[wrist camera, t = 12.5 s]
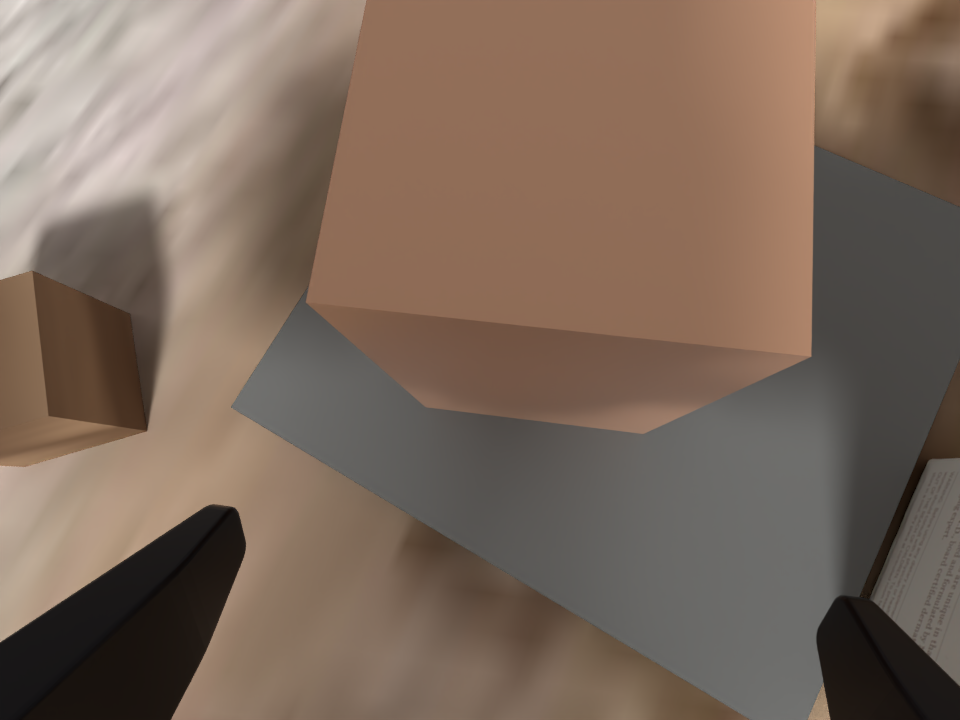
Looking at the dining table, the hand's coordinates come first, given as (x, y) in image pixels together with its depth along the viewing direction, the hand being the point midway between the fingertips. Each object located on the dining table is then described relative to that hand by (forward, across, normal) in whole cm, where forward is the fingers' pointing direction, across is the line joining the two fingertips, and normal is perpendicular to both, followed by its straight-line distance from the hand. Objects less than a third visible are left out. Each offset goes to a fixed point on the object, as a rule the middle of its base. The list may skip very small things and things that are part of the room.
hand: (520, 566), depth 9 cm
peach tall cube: (+10, 0, +1) cm, 10 cm away
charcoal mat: (+10, -2, +1) cm, 11 cm away
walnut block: (+8, +14, +4) cm, 17 cm away
